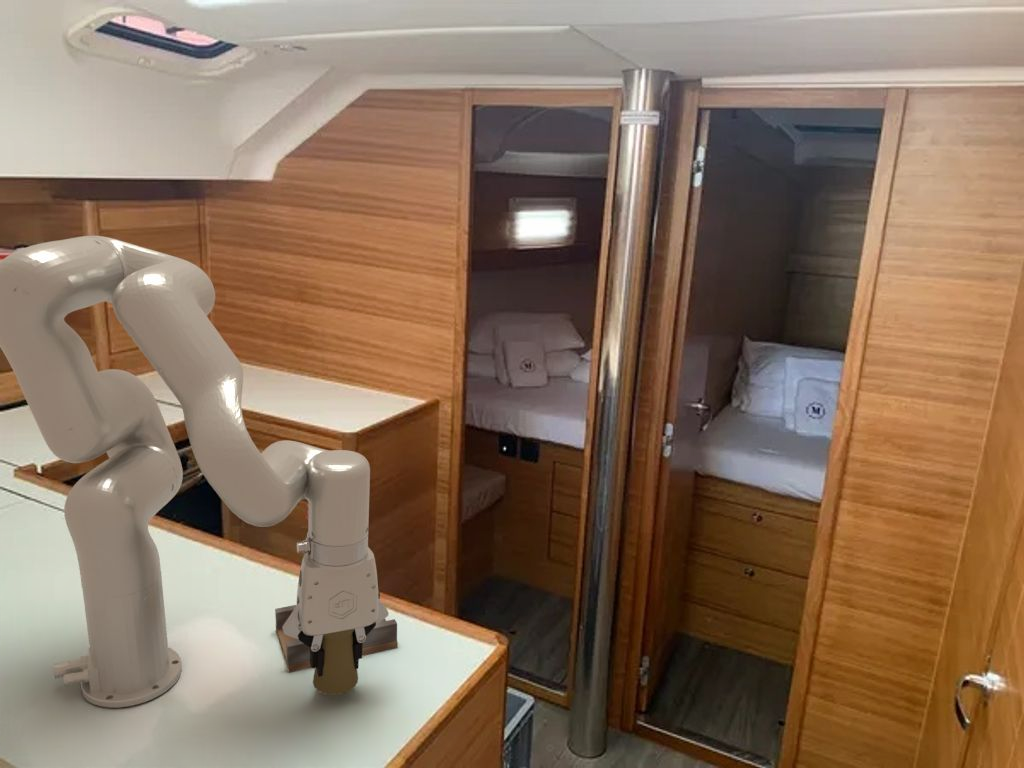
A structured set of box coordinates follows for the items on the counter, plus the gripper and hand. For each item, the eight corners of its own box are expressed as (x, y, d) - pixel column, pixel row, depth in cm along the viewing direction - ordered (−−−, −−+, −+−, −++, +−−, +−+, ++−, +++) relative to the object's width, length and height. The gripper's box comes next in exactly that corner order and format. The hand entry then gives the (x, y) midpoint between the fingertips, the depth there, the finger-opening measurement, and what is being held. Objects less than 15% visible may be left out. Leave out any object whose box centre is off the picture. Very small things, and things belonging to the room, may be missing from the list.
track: (289, 672, 113) (287, 648, 112) (275, 630, 123) (274, 607, 122) (397, 647, 120) (397, 624, 119) (377, 609, 130) (377, 587, 128)
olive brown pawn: (339, 660, 113) (340, 592, 110) (367, 680, 109) (369, 610, 106) (303, 680, 108) (304, 609, 105) (331, 701, 105) (333, 628, 102)
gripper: (276, 569, 96) (277, 697, 102) (409, 550, 103) (403, 670, 109) (266, 541, 103) (267, 662, 108) (392, 524, 110) (387, 639, 115)
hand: (336, 665), depth 108 cm, fingers closed on olive brown pawn, 4 cm apart
